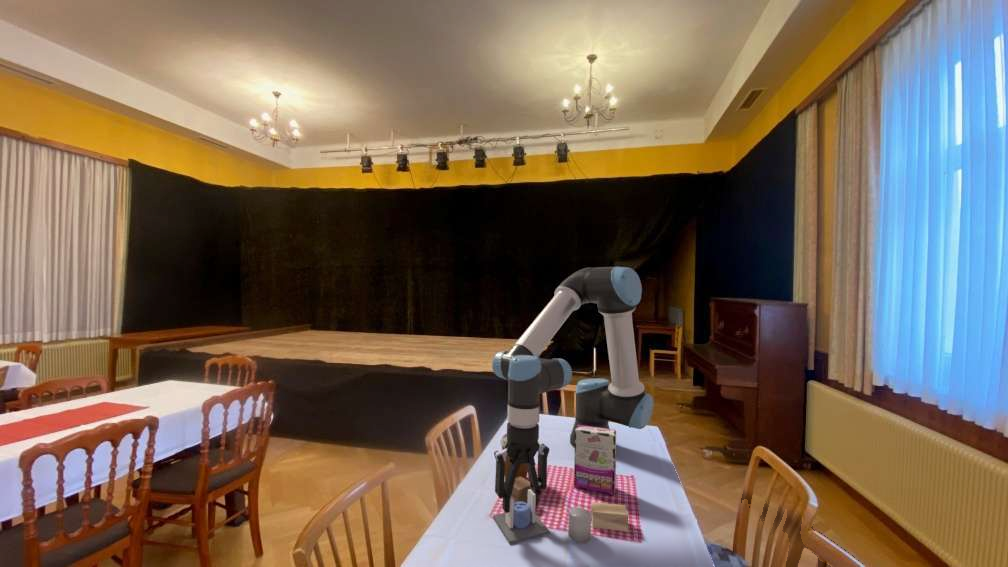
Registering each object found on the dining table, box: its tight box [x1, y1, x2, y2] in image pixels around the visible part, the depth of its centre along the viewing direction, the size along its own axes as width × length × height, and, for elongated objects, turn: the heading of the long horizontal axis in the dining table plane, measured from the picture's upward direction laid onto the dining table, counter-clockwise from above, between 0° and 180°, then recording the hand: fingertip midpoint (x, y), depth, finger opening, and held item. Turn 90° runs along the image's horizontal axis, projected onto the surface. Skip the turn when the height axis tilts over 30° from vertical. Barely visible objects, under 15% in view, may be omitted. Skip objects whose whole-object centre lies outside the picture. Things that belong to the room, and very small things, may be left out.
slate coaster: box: [492, 512, 551, 545], centre depth 89 cm, size 10×10×1 cm
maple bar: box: [590, 501, 629, 532], centre depth 90 cm, size 4×8×4 cm, turn 84°
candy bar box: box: [573, 425, 617, 496], centre depth 107 cm, size 11×5×16 cm, turn 70°
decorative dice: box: [513, 502, 530, 528], centre depth 89 cm, size 4×4×4 cm
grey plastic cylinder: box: [567, 507, 592, 544], centre depth 86 cm, size 5×5×5 cm
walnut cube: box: [511, 476, 532, 503], centre depth 99 cm, size 5×5×5 cm
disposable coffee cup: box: [499, 432, 528, 480], centre depth 110 cm, size 10×10×12 cm
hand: (520, 521), depth 89 cm, fingers open, 5 cm apart
